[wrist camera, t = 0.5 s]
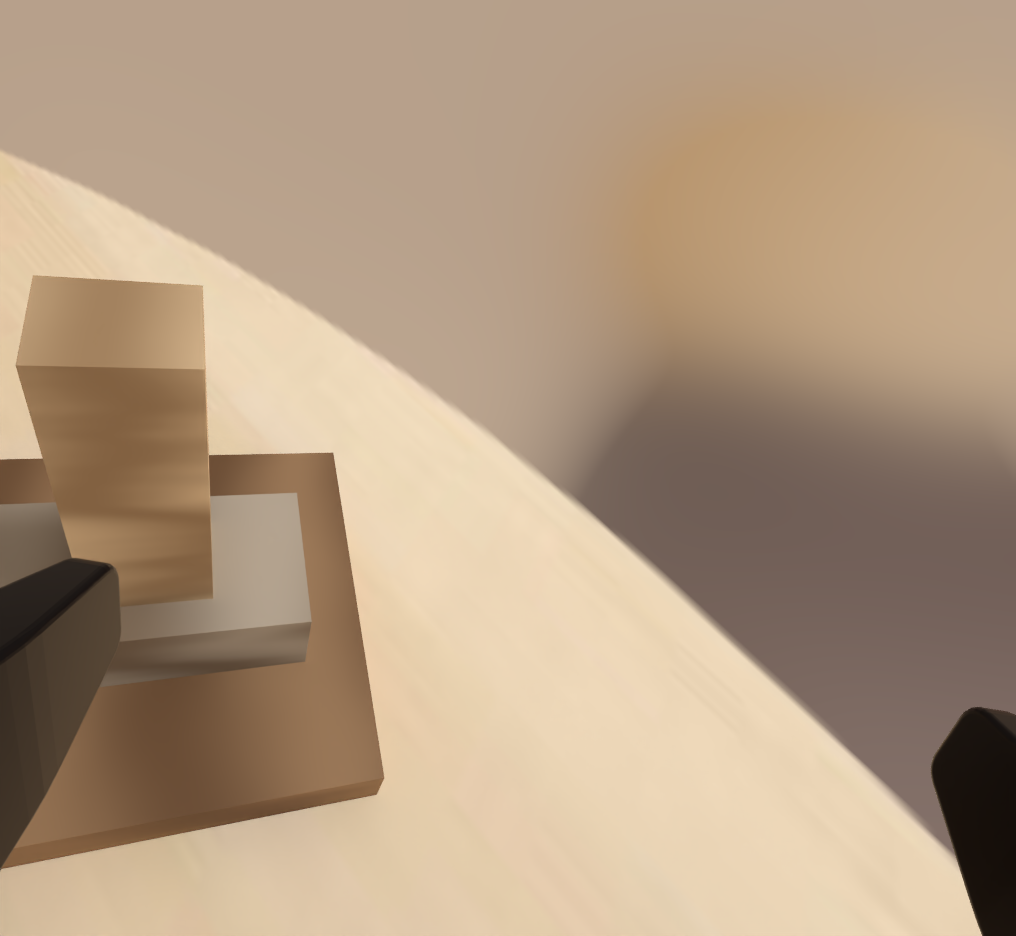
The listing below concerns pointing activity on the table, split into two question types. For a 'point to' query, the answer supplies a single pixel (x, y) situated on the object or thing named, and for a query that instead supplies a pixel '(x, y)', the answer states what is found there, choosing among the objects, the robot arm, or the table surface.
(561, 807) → the table surface
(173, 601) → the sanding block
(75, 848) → the walnut board
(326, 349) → the table surface
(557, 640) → the table surface
